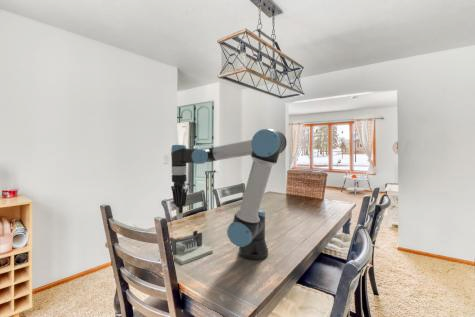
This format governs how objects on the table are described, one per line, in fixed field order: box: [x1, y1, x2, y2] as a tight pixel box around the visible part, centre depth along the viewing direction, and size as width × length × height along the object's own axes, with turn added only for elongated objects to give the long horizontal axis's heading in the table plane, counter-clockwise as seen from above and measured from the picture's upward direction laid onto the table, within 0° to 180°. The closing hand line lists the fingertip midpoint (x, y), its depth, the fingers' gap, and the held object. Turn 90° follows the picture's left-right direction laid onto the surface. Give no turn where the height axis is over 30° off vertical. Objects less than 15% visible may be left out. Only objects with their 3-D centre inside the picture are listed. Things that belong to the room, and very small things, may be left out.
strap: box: [175, 233, 198, 242], centre depth 126 cm, size 3×14×2 cm, turn 134°
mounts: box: [169, 230, 203, 255], centre depth 126 cm, size 5×16×7 cm, turn 134°
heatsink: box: [176, 239, 198, 253], centre depth 126 cm, size 9×8×4 cm
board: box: [173, 239, 214, 265], centre depth 126 cm, size 22×18×2 cm
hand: (179, 218), depth 126 cm, fingers closed
